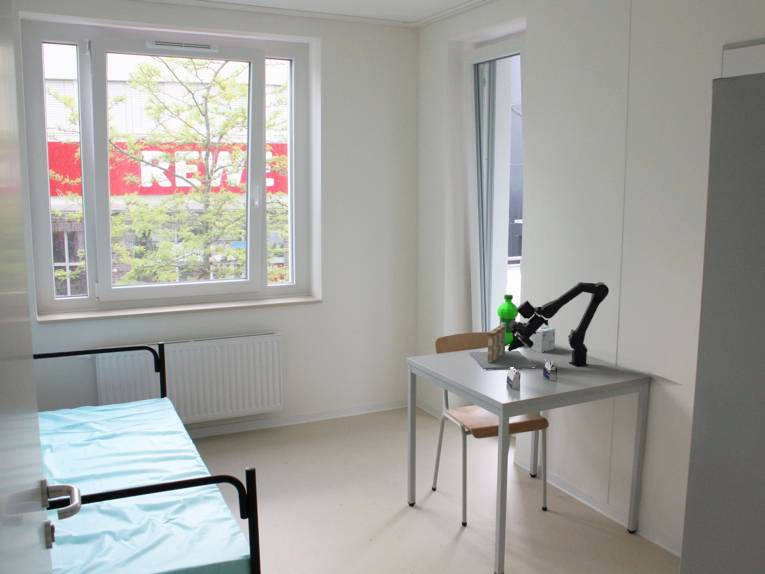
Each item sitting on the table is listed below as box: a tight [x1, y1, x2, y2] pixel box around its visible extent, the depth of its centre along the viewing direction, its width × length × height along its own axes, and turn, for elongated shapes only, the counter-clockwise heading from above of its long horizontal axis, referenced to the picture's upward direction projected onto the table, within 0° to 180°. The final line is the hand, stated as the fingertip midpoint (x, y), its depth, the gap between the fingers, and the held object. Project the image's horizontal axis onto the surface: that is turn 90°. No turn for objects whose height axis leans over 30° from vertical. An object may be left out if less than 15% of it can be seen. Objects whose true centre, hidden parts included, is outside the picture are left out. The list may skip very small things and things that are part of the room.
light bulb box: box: [530, 325, 556, 353], centre depth 336 cm, size 11×7×11 cm, turn 130°
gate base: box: [469, 322, 537, 370], centre depth 315 cm, size 24×26×16 cm
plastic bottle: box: [497, 294, 519, 346], centre depth 346 cm, size 10×10×25 cm
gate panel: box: [487, 325, 505, 362], centre depth 315 cm, size 17×3×13 cm, turn 152°
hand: (508, 350), depth 312 cm, fingers closed
